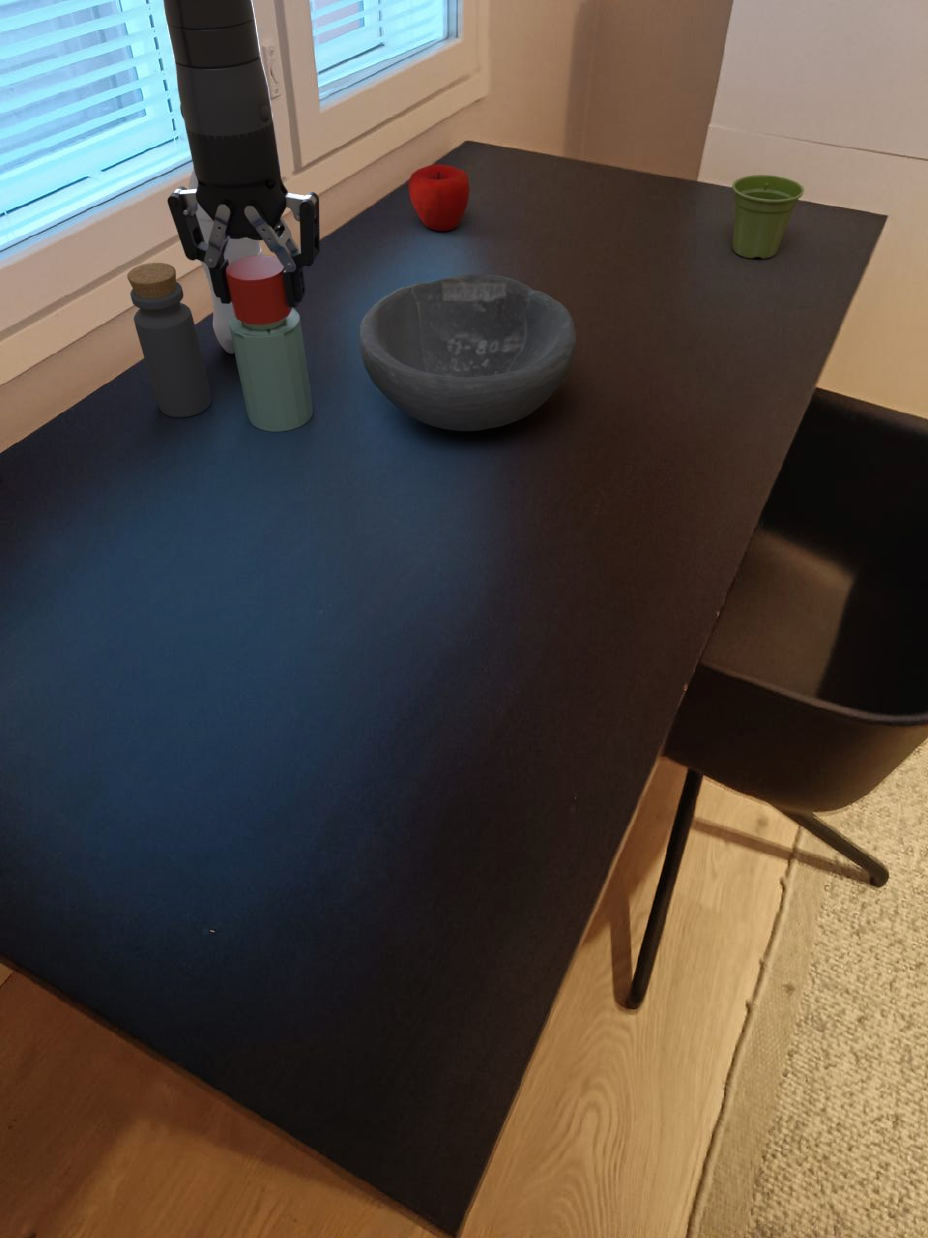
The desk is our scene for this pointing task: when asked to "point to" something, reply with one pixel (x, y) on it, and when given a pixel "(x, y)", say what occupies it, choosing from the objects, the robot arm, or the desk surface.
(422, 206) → the apple
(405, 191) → the desk surface
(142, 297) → the bottle
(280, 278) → the cap
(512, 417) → the bowl
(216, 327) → the water bottle
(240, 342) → the ceramic bottle
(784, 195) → the plant pot
